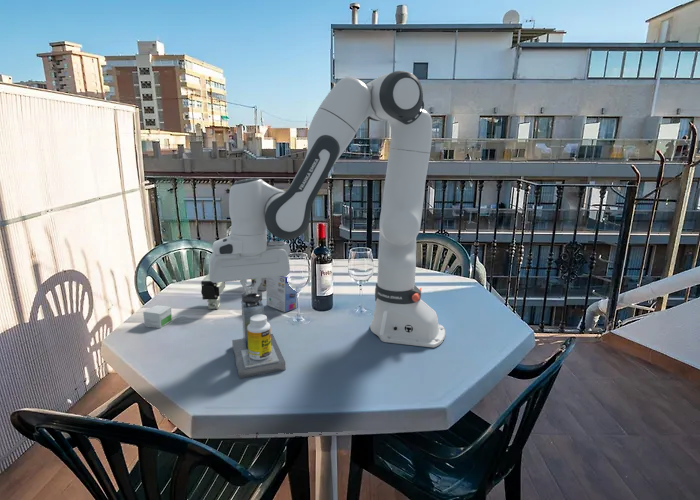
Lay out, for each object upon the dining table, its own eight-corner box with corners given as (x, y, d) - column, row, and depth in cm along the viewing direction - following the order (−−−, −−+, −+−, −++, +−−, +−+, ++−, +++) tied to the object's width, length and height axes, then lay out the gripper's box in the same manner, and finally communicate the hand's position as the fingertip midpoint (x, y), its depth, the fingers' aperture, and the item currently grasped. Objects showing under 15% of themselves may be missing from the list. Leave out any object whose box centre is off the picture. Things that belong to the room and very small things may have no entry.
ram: (265, 339, 101) (263, 296, 98) (245, 343, 99) (242, 299, 96) (262, 331, 105) (260, 290, 102) (242, 334, 103) (240, 292, 100)
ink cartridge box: (297, 308, 130) (297, 267, 126) (285, 313, 125) (284, 271, 122) (278, 301, 135) (276, 262, 132) (266, 305, 131) (264, 265, 127)
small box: (160, 328, 113) (159, 313, 112) (144, 326, 114) (142, 311, 113) (173, 320, 118) (171, 306, 117) (157, 318, 119) (155, 304, 118)
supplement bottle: (263, 363, 91) (261, 324, 88) (243, 358, 93) (241, 319, 90) (275, 352, 96) (274, 314, 93) (257, 347, 98) (255, 311, 95)
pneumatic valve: (202, 314, 123) (199, 279, 120) (211, 301, 134) (209, 268, 131) (219, 314, 123) (217, 279, 120) (227, 300, 135) (225, 268, 132)
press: (285, 369, 93) (284, 320, 90) (239, 378, 89) (236, 328, 86) (272, 340, 107) (271, 297, 104) (232, 346, 103) (229, 302, 100)
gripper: (286, 238, 102) (287, 286, 106) (206, 242, 95) (210, 294, 98) (292, 243, 97) (293, 293, 100) (207, 248, 89) (211, 303, 92)
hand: (251, 294), depth 99 cm, fingers closed, pressing on ram
